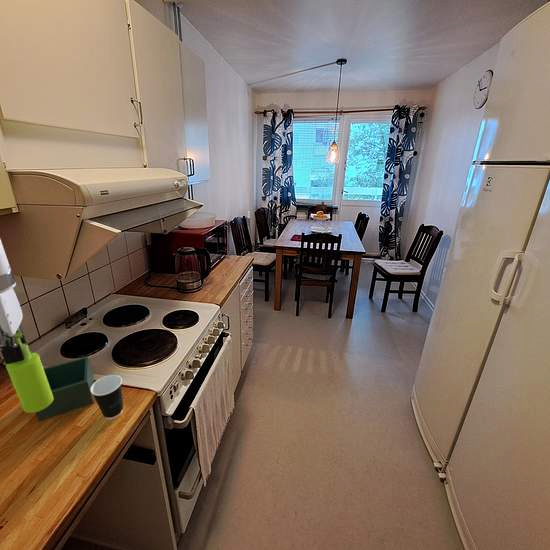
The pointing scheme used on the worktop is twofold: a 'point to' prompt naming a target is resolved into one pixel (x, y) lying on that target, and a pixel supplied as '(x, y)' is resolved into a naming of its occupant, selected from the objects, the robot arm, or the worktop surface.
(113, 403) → the dixie cup
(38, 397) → the soap dispenser
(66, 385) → the bin
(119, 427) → the worktop surface
